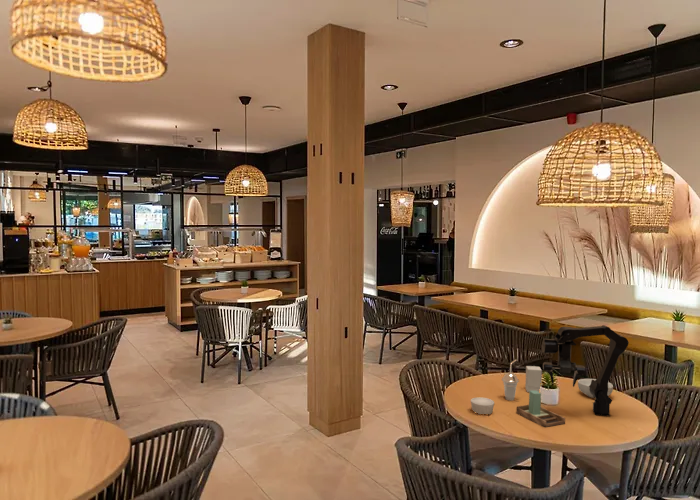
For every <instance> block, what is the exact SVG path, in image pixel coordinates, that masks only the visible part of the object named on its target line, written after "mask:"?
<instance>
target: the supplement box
mask: <svg viewBox="0 0 700 500" xmlns="http://www.w3.org/2000/svg"><path fill="white" fill-rule="evenodd" d="M542 373H543V370H542V369H541V367H540V366H535V365H533V366H532V365H526V366H525V384H524V385H525V386H524V387H525V388H524V389H525V391H526V393H529V391H535V390H536V391H538V392H539V389H540V383H541V384H542V377H543V375H542Z"/></svg>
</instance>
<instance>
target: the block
mask: <svg viewBox="0 0 700 500" xmlns="http://www.w3.org/2000/svg"><path fill="white" fill-rule="evenodd" d="M528 394H529V395H528V397H529V398H528V405H529V412H530V413H532V414H533V415H540V407H542V405H541V404H542V403H541V402H542V392H541V393H539V392H538V391H536V390H535V391H529V392H528Z"/></svg>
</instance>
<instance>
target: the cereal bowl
mask: <svg viewBox="0 0 700 500" xmlns="http://www.w3.org/2000/svg"><path fill="white" fill-rule="evenodd" d="M592 379H593V380H596V379H597V378H580V379H577V388H578V390H580V392H581V393H583V394H584V395H586V396H587V397H588V398H592V399H595V398H594V397H593V395H592V394H591V393H590V391H589V389H590V387H589V386H590V384H591V381H592ZM613 390H614V386H613V383H611V382H608V393H607V395H608V396H609V397H610V396H611V394H612V393H613Z"/></svg>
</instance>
